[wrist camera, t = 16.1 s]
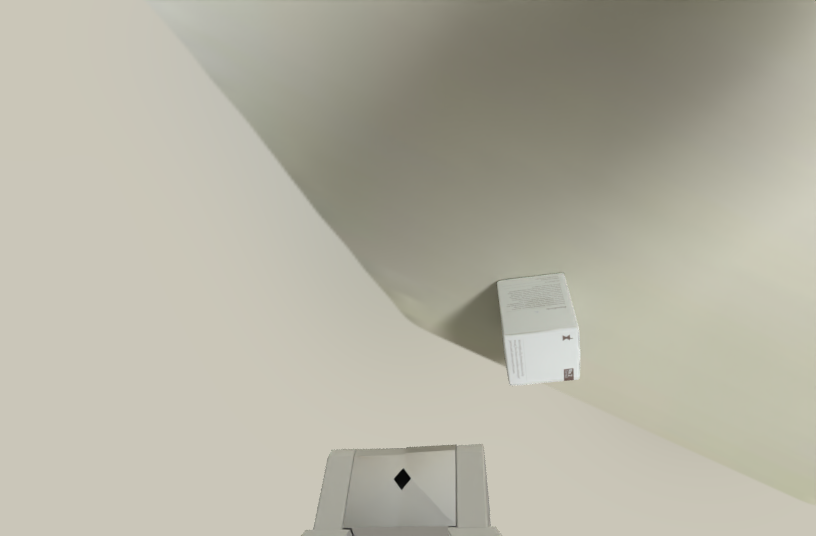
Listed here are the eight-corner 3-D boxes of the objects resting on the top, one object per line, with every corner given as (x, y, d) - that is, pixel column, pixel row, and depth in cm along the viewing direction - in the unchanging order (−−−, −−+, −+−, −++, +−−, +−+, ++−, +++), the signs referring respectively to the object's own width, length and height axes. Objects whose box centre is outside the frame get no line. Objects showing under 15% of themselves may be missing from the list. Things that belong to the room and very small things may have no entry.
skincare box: (495, 279, 51) (501, 335, 45) (564, 270, 50) (580, 327, 44) (502, 329, 55) (508, 387, 49) (567, 322, 54) (581, 381, 48)
